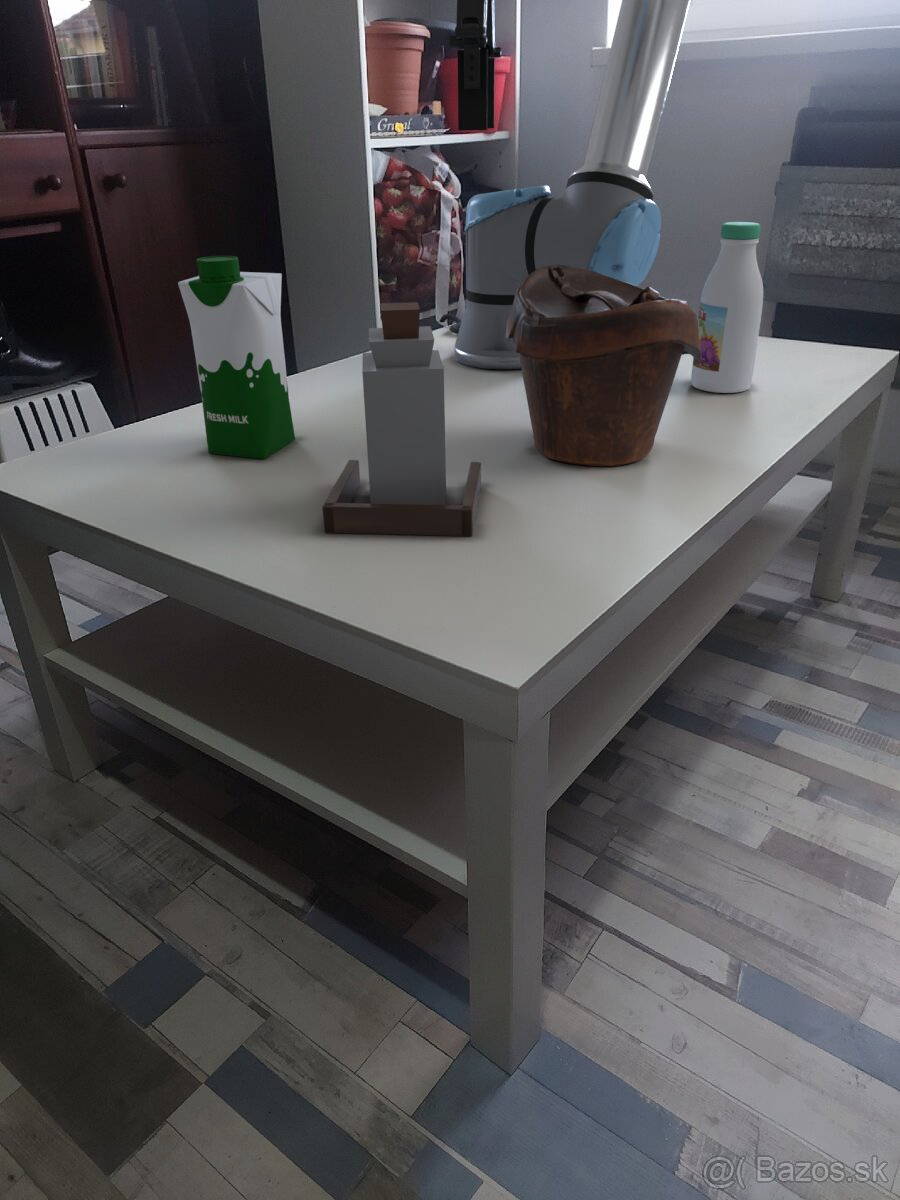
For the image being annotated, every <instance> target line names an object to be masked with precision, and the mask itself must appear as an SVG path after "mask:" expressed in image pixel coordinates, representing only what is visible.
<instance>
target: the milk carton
mask: <svg viewBox="0 0 900 1200" xmlns="http://www.w3.org/2000/svg"><path fill="white" fill-rule="evenodd" d="M196 264H197V271H198V272H197V273H198V275H197V276H194V277H191V278H188V279H183V280H181V281H178V282H177V285H178V288H179V291H180V294H181V298H182V301H183V304H184V307H185V310H186V314H187V318H188V320H189V325H190V330H191V338H192V344H193V350H194V356H195V363H196V369H197V375H198V382H199V383H198V384H199V389H200V396H201V403H202V411H203V420H204V427H205V436H206V445H207V452H208V454H211V455H212V454H214V455H221V456H222V455H223V456H230V457H231V456H232V457H241V458H248V459H249V458H252V459H257V460H258V459H259V460H265V459H268V457H270V456H272V455H273V454H275V453H276V452H278V451H279V450H281V449H282V448H284V447H285V446H287V445H288V444H290V443H291V442H293V441H294V440H296V436H295V428H294V422H293V416H292V410H291V404H290V396H289V385H288V376H287V367H286V365H287V364H286V357H285V356H286V355H285V348H284V337H283V328H282V317H281V314H282V313H281V311H282V309H281V306H282V280H283V278H282V277H283V274H282V273H279V272H278V273H277V272H254V271H253V272H250V271H240V270H241V269H240V263H239V258H238V257H237V256H235V255H212V256H203V257H199V258H197V259H196Z"/></svg>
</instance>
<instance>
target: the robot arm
mask: <svg viewBox="0 0 900 1200" xmlns="http://www.w3.org/2000/svg"><path fill="white" fill-rule="evenodd" d="M690 3H691V0H621V4H620V8H619V12H618V17H617V21H616V24H615V29H614V34H613V38H612V42H611V46H610V51H609V55H608V58H607V61H606V67H605V71H604V75H603V79H602V84H601V87H600V92H599V96H598V100H597V103H596V104H597V105H596V109H595V113H594V117H593V121H592V125H591V128H590V129H591V130H590V134H589V139H588V143H587V146H586V150H585V151H586V152H585V155H584V160H583V163H582V166H581V167H580V168H578V169H577V170H576V171H574V172H572V173H571V174H570V175H569V176H568V178H567V183H566V186H565V190H564V193H563V196H562V197H552V192H551V188H550V186H549V185H548V184H545V185H537V186H529V187H522V188H515V189H508V190H507V189H506V190H500V191H493V192H486V193H480V194H475V195H473V196H472V197H471V198H470V199H469V200H468V202H467V205H466V212H465V213H466V215H465V226H464V233H465V275H466V276H465V282H466V283H465V284H466V286H465V287H466V290H465V292H466V296H465V297H466V301H465V302H466V303H465V309H464V313H463V315H462V319H460V318H459V317H458V316H456V315H454V314H451V313H445V314H443V315H442V316H441V317H440V319H439V321H438V322H439V323H445V321H447V320H450V321H453V322H454V324H451V325H450V327H449V331H450V332H451V333H453V334H456V335H457V337H456V339H455V343H454V359H455V361H456V362H458V363H460V364H463V365H465V366H469V367H474V368H479V369H488V370H522V368H521V363H520V356H519V353H516V351H515V343H514V341H513V338H509V339H507V338H506V329H507V321H508V318H509V315H510V312H511V308H512V305H513V302H514V298H515V295H516V292H517V289H518V288H519V286H520V285H521V284H522V283H523V282H524V280H525V279H526V278H527V277H528V276H529V275H530V274H531V273H532V272H534V271H536V270H537V269H539V268H542V267H545V266H550V265H570V266H575V267H580V268H584V269H588V270H592V271H595V272H598V273H600V274H603V275H606V276H609V277H612V278H615V279H618V280H621V281H624V282H626V283H629V284H632V285H635V286H637V287H638V286H639V285H641V283H643V281H644V280H645V279H646V277H647V275H648V274H649V272H650V270H651V268H652V266H653V264H654V261H655V259H656V256H657V253H658V250H659V245H660V241H661V240H660V239H661V234H660V232H661V228H662V213H661V210H660V208H659V206H658V205H657V203H656V202H654V196H655V194H654V191H653V189H652V187H651V186H650V184H649V183H648V181H647V178H648V173H649V170H650V165H651V161H652V157H653V153H654V148H655V145H656V140H657V136H658V132H659V128H660V124H661V120H662V116H663V112H664V109H665V104H666V100H667V95H668V91H669V87H670V84H671V79H672V75H673V71H674V67H675V64H676V63H675V62H676V60H677V55H678V51H679V46H680V44H681V43H680V42H681V39H682V35H683V31H684V27H685V22H686V18H687V14H688V10H689V6H690ZM455 23H456V24H455V27H454V35H449V49H450V50H457V129H458V132H459V131H460V132H461V131H488V129H495V100H496V99H495V95H496V94H495V93H496V90H495V88H496V87H495V86H496V84H495V83H496V81H495V80H496V79H495V78H496V59H501V57H502V47H501V46H497V42H496V40H495V39H496V36H495V35H496V34H495V32H496V31H495V29H496V28H495V0H456V22H455Z"/></svg>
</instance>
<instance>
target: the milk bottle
mask: <svg viewBox="0 0 900 1200" xmlns="http://www.w3.org/2000/svg"><path fill="white" fill-rule="evenodd" d="M761 228H762V225H761V224H760V223H758V222H749V221H729V222H725V223H722V225H721V229H720V240H719V242H720V245H721V246H720V251H719V254H718V256H717V259H716V260H715V263H714V265H713V267H712V269H711V271H710V272H709V274H708V277H707V278H706V280H705V282H704V285H703V288H702V291H701V296H700V302H699V307H698V308H699V309H698V315H697V319H698V330H699V344H700V352H701V358H700V362H697V361H696V360H695V358H694V357H693V356H692V367H691V375H690V377H691V378H690V382H691V385H692V386H693V388H696V389H698V390H701V391H705V392H710V393H717V394H718V393H719V394H720V393H722V394H732V393H741V392H744V391H747V390H749V389H750V387H751V386H752V382H753V376H754V369H755V363H756V357H757V356H756V355H757V349H758V342H759V335H760V330H761V329H760V327H761V320H762V313H763V306H764V305H763V303H764V284H763V279H762V275H761V272H760V269H759V265H758V259H757V245H758V244H759V243H760V242H759V239H760V236H761V230H762V229H761Z"/></svg>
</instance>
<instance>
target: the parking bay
mask: <svg viewBox="0 0 900 1200" xmlns="http://www.w3.org/2000/svg"><path fill="white" fill-rule="evenodd" d="M360 485H361V472H360V461H359V459H349V460H347V462H346V465H345V466H344V468H343V469H342V472H341V473H340V475H339V477H338V478H337V480H336V481H335V484H334V485H333V488H332V489H331V491H330V492H329V494H328V496H327V498H326V500H325V501H324V503H323V505H322V507H321V509H322V518H323V519H322V520H323V529H324V533H325V534H359V535H360V534H361V535H362V534H364V535H399V536H401V535H402V536H403V535H404V536H442V537H443V536H444V537H447V536H448V537H450V536H451V537H473V534H474V528H475V523H476V516H477V512H478V511H477V510H478V506H479V499H480V493H481V487H482V462H481V461H471V462H470V463H469V469H468V474H467V479H466V484H465V488H464V492H463V497H462V502H461V505H458V504H457V505H456V504H455V505H454V504H453V505H452V504H450V505H449V504H446V505H411V504H371V503H362V502H361V503H360V502H357V503H356V502H352V501H353V499H354V497H355V495H356V493H357V491H358V489H359V488H360Z"/></svg>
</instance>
